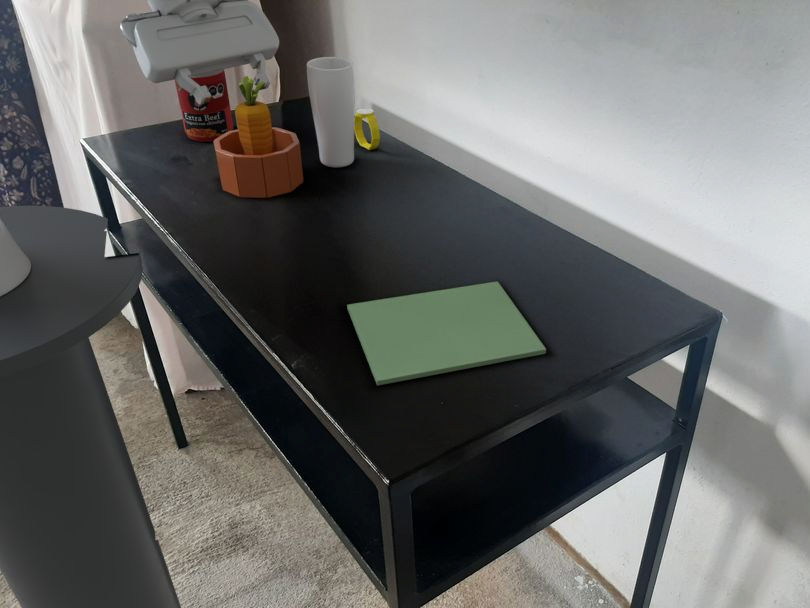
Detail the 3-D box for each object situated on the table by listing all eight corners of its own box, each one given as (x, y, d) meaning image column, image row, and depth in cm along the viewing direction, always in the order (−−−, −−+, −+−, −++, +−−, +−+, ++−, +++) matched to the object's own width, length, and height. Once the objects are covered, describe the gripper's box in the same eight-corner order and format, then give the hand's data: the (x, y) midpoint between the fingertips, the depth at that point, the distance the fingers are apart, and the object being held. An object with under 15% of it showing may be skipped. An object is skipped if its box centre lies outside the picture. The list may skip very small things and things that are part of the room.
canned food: (181, 142, 118) (166, 73, 111) (192, 125, 124) (179, 58, 118) (229, 143, 119) (218, 73, 112) (237, 125, 125) (227, 59, 118)
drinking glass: (328, 151, 117) (320, 54, 108) (366, 158, 116) (361, 60, 107) (307, 166, 112) (297, 66, 103) (347, 173, 110) (340, 72, 101)
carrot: (250, 173, 109) (234, 70, 100) (282, 174, 109) (270, 72, 100) (240, 186, 105) (223, 81, 96) (274, 188, 105) (260, 83, 96)
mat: (377, 385, 71) (376, 381, 70) (347, 309, 81) (347, 304, 81) (545, 353, 76) (546, 349, 75) (497, 285, 86) (497, 281, 86)
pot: (224, 202, 101) (217, 161, 98) (218, 168, 110) (211, 129, 107) (308, 193, 105) (304, 153, 101) (295, 161, 114) (291, 123, 110)
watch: (384, 151, 118) (383, 115, 114) (369, 155, 117) (367, 118, 113) (365, 139, 122) (363, 104, 118) (350, 143, 120) (348, 107, 117)
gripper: (117, 1, 93) (172, 97, 94) (255, -17, 105) (302, 68, 106) (110, 31, 98) (162, 122, 99) (242, 10, 110) (288, 91, 111)
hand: (236, 94), depth 102 cm, fingers open, 8 cm apart
